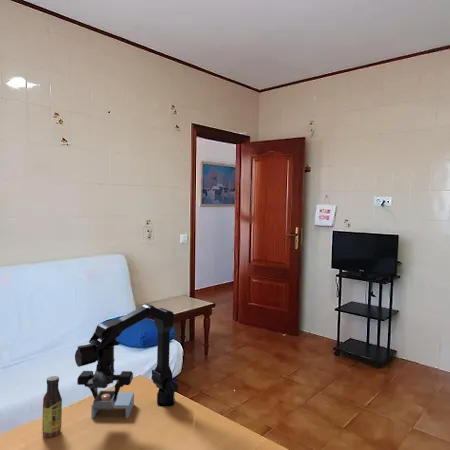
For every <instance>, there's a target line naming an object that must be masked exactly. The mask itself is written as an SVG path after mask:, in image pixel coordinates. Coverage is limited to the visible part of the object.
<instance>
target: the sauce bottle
mask: <svg viewBox="0 0 450 450" xmlns="http://www.w3.org/2000/svg"><path fill="white" fill-rule="evenodd" d="M59 383H60V377H59V376H58V375H52V376H49V377H46V393H45V394H44V396H43V399H42V424H41V425H42V428H41V429H42V436H43V437H44V438H53V437H56V436H57V435H59V434H60V433H61V430H62V423H63V422H62V413H63V412H62V411H63V409H62V408H63V407H62V406H63V398H62V396H61V393H60V390H59Z"/></svg>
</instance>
